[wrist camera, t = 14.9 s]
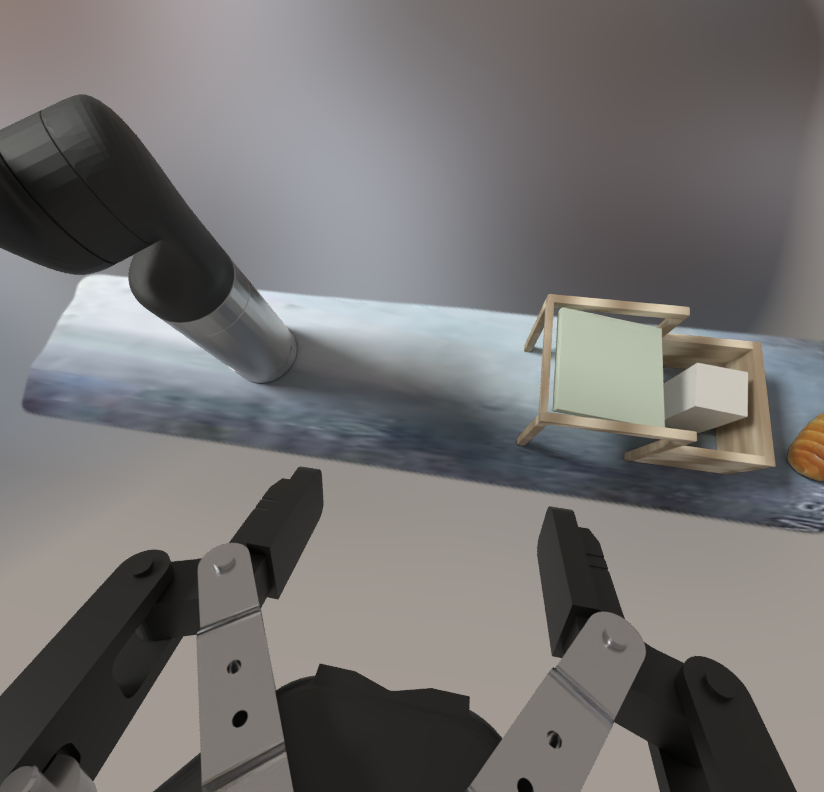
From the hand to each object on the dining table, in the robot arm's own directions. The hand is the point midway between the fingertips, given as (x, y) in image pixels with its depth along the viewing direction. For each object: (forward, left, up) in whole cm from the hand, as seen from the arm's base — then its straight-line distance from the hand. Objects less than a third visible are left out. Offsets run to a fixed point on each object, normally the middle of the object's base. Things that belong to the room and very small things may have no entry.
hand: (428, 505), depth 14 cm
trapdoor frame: (+14, +22, -35) cm, 44 cm away
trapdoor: (+9, +21, -24) cm, 33 cm away
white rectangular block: (+21, +25, -27) cm, 42 cm away
